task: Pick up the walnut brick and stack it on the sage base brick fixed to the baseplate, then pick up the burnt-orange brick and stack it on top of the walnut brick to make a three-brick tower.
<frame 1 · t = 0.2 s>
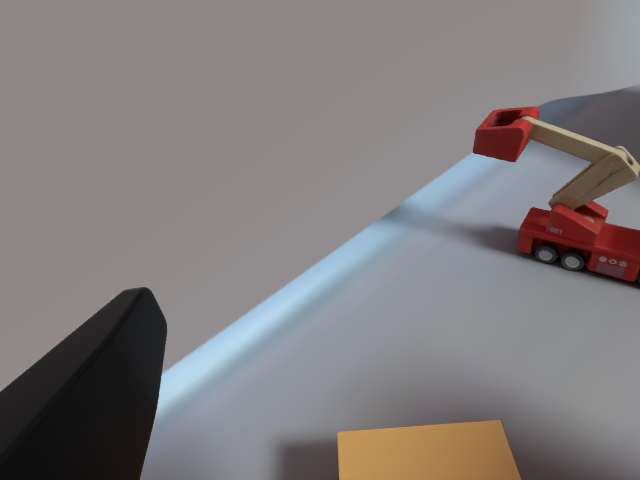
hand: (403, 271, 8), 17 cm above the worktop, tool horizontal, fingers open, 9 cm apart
toy fire truck: (568, 257, 32), on the worktop
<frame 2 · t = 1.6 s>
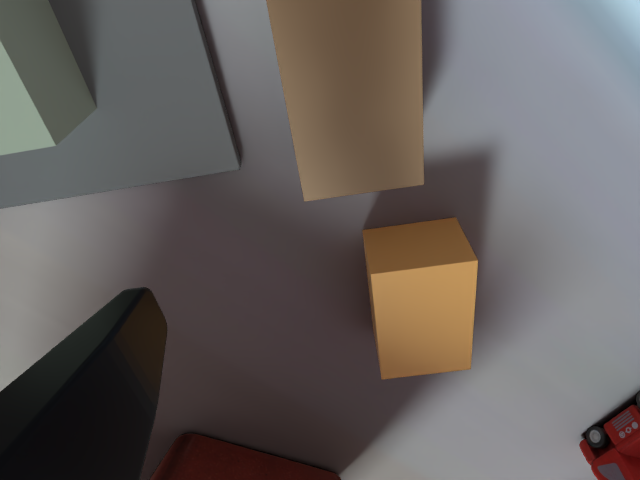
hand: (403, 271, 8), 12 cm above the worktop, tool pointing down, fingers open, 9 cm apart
baseplate: (0, 18, 16), on the worktop
orange brick: (410, 276, 24), on the worktop
walnut brick: (345, 71, 18), on the worktop
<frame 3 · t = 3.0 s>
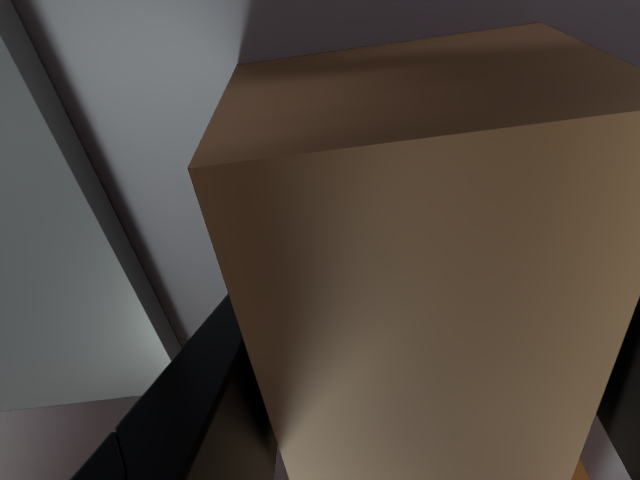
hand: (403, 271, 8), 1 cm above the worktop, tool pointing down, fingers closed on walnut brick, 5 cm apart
walnut brick: (393, 232, 9), on the worktop, touching gripper
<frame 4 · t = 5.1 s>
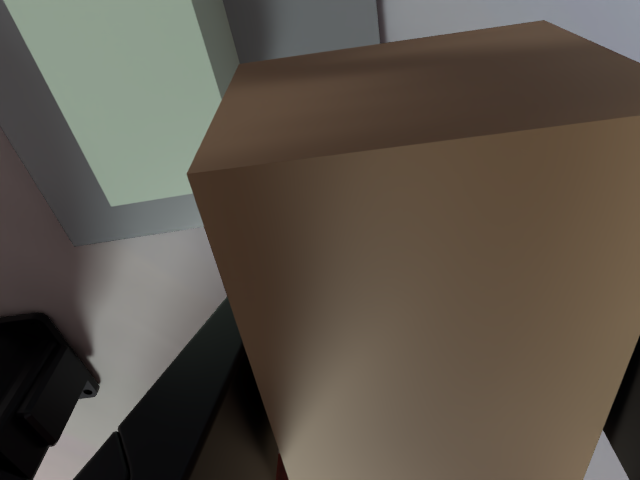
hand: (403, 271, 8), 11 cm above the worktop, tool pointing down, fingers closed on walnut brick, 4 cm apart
baseplate: (172, 47, 16), on the worktop
walnut brick: (396, 235, 9), point 10 cm above the worktop, touching gripper
when the fingers open (6 cm above the worktop, at t = 7.0 s): walnut brick stays where it is, resting on baseplate.
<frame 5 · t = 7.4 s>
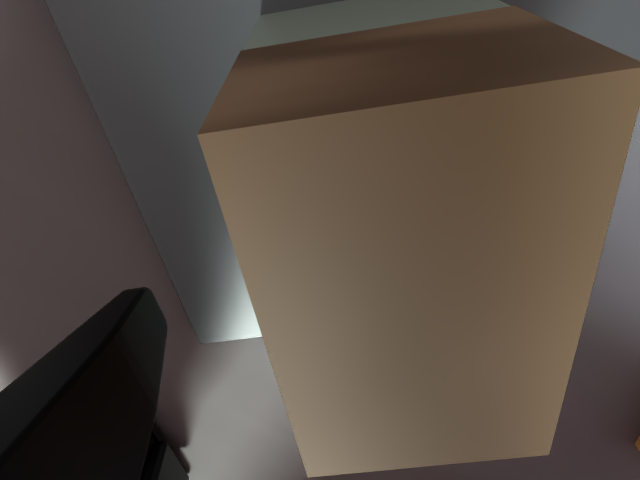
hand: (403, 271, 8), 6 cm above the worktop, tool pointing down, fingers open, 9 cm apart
baseplate: (368, 132, 13), on the worktop
walnut brick: (388, 208, 10), point 4 cm above the worktop, touching baseplate
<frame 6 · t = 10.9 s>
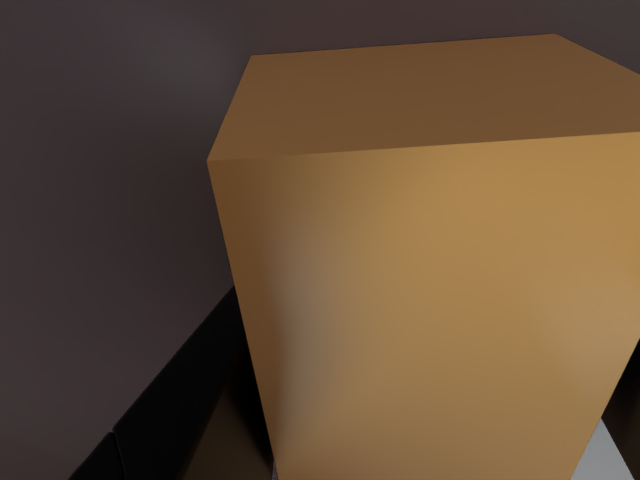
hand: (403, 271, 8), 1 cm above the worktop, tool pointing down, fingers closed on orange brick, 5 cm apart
orange brick: (394, 237, 9), on the worktop, touching gripper
when the fingers open (10 cm above the worktop, at t = 14.7 s): orange brick stays where it is, resting on walnut brick.
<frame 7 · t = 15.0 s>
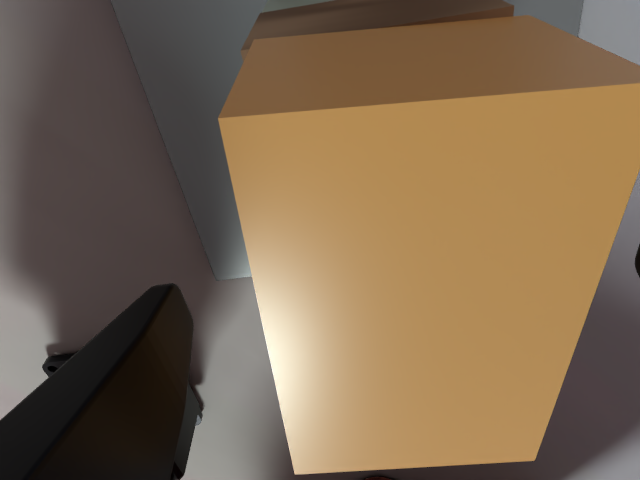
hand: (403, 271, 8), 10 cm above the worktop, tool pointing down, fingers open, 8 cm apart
baseplate: (357, 92, 16), on the worktop
orange brick: (388, 209, 10), point 8 cm above the worktop, touching walnut brick
walnut brick: (369, 139, 12), point 4 cm above the worktop, touching baseplate, orange brick
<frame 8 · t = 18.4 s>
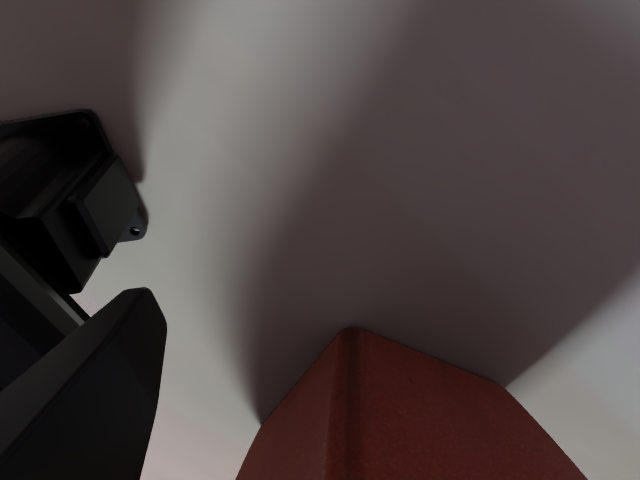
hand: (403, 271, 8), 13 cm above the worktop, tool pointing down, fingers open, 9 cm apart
plant pot: (374, 405, 32), on the worktop
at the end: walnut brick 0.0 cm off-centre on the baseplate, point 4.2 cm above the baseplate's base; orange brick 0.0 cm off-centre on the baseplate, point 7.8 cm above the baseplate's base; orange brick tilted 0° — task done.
